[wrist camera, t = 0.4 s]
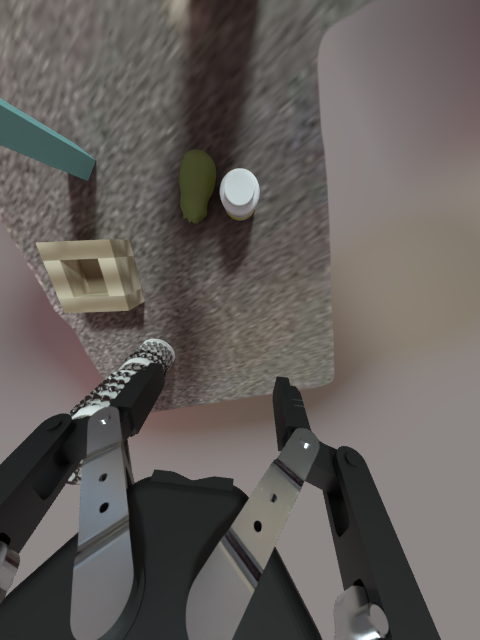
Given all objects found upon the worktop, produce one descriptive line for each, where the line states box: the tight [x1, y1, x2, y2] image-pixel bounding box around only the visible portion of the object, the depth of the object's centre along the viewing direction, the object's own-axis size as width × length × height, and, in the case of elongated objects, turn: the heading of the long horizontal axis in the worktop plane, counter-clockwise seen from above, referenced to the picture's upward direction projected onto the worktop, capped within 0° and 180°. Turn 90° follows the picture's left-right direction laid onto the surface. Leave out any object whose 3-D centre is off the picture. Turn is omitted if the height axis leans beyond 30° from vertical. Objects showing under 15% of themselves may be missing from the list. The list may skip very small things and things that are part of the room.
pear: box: [179, 149, 216, 224], centre depth 31 cm, size 6×5×10 cm
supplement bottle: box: [220, 168, 260, 221], centre depth 29 cm, size 6×6×10 cm
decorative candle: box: [67, 339, 175, 485], centre depth 33 cm, size 9×9×25 cm
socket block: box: [36, 239, 145, 313], centre depth 35 cm, size 12×12×6 cm
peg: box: [0, 99, 96, 181], centre depth 24 cm, size 4×4×16 cm
